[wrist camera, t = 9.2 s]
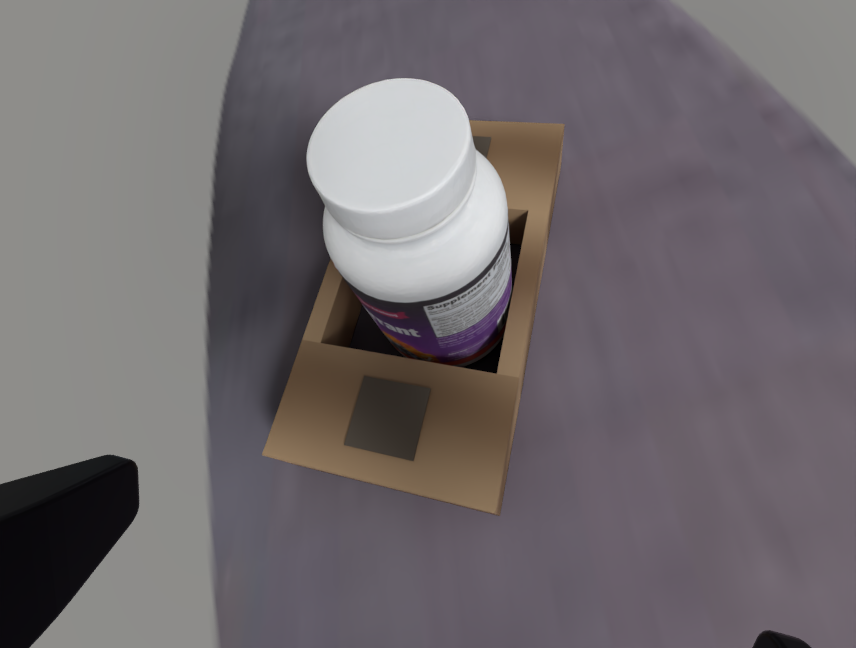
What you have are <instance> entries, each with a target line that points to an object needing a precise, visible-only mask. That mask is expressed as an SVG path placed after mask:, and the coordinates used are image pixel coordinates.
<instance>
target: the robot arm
mask: <svg viewBox="0 0 856 648" xmlns="http://www.w3.org/2000/svg"><path fill="white" fill-rule="evenodd" d="M138 508H139V484H138V467H137V465H136V463H135V462H134V461H132V460H130V459H126V458H123V457H119V456H115V455H104V456H101V457H97V458H93V459H89V460H86V461H82V462H79V463H75V464H71V465H68V466H64V467H61V468H57V469H54V470H50V471H46V472H43V473H39V474H35V475H32V476H28V477H25V478H21V479H18V480H14V481H11V482H7V483H3V484H0V648H29V647H30V646H31V645H32V644H33V643H34V642H35V641H36V640H37V639H38V638H39V637H40V636H41V635H42V633H43V632H44V631H45V630H46V629H47V628H48V627H49V626H50V624H51V623H52V622H53V621H54V620H55V619H56V618H57V617H58V615H59V614H60V613H61V612H62V610H63V609H64V608H65V607H66V606H67V604H68V603H69V602H70V601H71V600H72V598H73V597H74V596H75V595H76V593H77V592H78V591H79V589H80V588H81V587H82V586H83V584H84V583H85V582H86V581H87V579H88V578H89V577H90V575H91V574H92V572H94V570H95V569H96V567H97V566H98V565H99V564H100V563H101V561H102V560H103V559H104V557H105V556H106V555H107V554H108V552H109V551H110V550H111V549H112V547H113V546H114V545H115V544H116V542H117V541H118V540H119V538H120V537H121V536H122V534H123V533H124V532H125V531H126V530H127V528H128V527H129V526H130V524H131V523H132V522H133V520H134V518H135V516H136V514H137V512H138ZM753 648H811V647H810V646H809V645H808V644H807V643H805V642H804V641H802V640H801V639H799V638H796V637H793V636H789V635H786V634H782V633H778V632H774V631H770V630H768V631H763V632H762V633H760V634H759V636H758V637H757V639H756V641H755V643H754V646H753Z"/></svg>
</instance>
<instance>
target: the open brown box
mask: <svg viewBox="0 0 856 648" xmlns="http://www.w3.org/2000/svg"><path fill="white" fill-rule="evenodd" d="M469 123H470V127H471V133H472V138H473V143H474V146H475V149H476V150H477V151H478V152H480V153H481V154H482V155H483V156H484V157H485V158H486V159H487V160H488V161H489V162H490V163H491V164H492V166H493V167H494V169H495V170H496V171H497V173H498V175H499V177H500V179H501V181H502V184H503V187H504V190H505V194H506V199H507V207H508V220H509V238H510V244H518V245H522V246H521V252H520V257H519V262H518V267H517V272H516V277H515V282H514V287H513V293H512V298H511V303H510V308H509V313H508V318H507V323H506V328H505V333H504V339H503V344H502V349H501V354H500V359H499V364H498V369H497V374H496V373H490V372H484V371H479V370H473V369H467V368H461V367H456V366H450V365H444V364H439V363H433V362H427V361H421V360H416V359H410V358H404V357H398V356H393V355H387V354H381V353H376V352H370V351H364V350H358V349H353V348H349V346H350V343H351V339H352V336H353V333H354V330H355V327H356V323H357V320H358V317H359V314H360V311H361V307H362V303H361V302H360V300H359V299H358V298H357V296H356V295H355V294H354V292H353V291H352V289H351V288H350V287H349V285H348V284H347V283H346V281H345V280H344V279H343V277H342V276H341V275H340V273H339V272H338V270H337V269H336V268H335V266H334V263H333V261H332V259H331V258H330V261H329V264H328V267H327V270H326V273H325V275H324V278H323V281H322V284H321V287H320V290H319V293H318V296H317V298H316V301H315V304H314V307H313V310H312V313H311V316H310V319H309V321H308V324H307V327H306V330H305V333H304V336H303V339H302V342H301V344H300V347H299V350H298V353H297V356H296V359H295V362H294V364H293V367H292V370H291V373H290V376H289V379H288V382H287V385H286V387H285V390H284V393H283V396H282V399H281V402H280V405H279V408H278V410H277V413H276V416H275V419H274V422H273V425H272V428H271V430H270V433H269V436H268V439H267V442H266V445H265V448H264V451H263V453H262V455H264V456H267V457H271V458H274V459H278V460H281V461H285V462H288V463H291V464H295V465H299V466H303V467H307V468H311V469H315V470H319V471H323V472H327V473H331V474H335V475H339V476H343V477H347V478H351V479H355V480H359V481H363V482H367V483H371V484H375V485H379V486H383V487H387V488H391V489H395V490H399V491H403V492H407V493H411V494H415V495H419V496H422V497H426V498H430V499H434V500H438V501H442V502H446V503H450V504H454V505H458V506H462V507H466V508H470V509H474V510H478V511H482V512H486V513H490V514H494V515H498V516H500V512H501V506H502V500H503V494H504V489H505V483H506V477H507V471H508V466H509V460H510V454H511V449H512V443H513V437H514V431H515V426H516V420H517V414H518V408H519V403H520V397H521V391H522V386H523V380H524V374H525V368H526V363H527V357H528V351H529V345H530V340H531V334H532V328H533V323H534V317H535V311H536V305H537V300H538V294H539V288H540V282H541V277H542V271H543V265H544V260H545V254H546V248H547V242H548V237H549V231H550V225H551V219H552V214H553V208H554V202H555V197H556V191H557V185H558V179H559V174H560V168H561V158H562V147H563V136H564V124H550V123H524V122H498V121H472V120H469Z"/></svg>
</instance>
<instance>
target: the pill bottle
mask: <svg viewBox="0 0 856 648" xmlns="http://www.w3.org/2000/svg"><path fill="white" fill-rule="evenodd" d="M306 161H307V169H308V174H309V176H310V179H311V181H312V184H313V185H314V187H315V189H316V190H317V192H318V194H319V195H320V197H321V199H322V201H323V203H324V204H325V209H324V216H323V234H324V241H325V244H326V248H327V251H328V253H329V255H330V258H331V259H332V261H333V263H334V266H335V268H336V269H337V270H338V272H339V273H340V275H341V276H342V277H343V279H344V280H345V281H346V283H347V284H348V285H349V287H350V288H351V289H352V291H353V292H354V294H355V295H356V296H357V298H358V299H359V300H360V302H361V303H362V305H363V306H364V307H365V309H366V310H367V312H368V313H369V314H370V316H371V317H372V318H373V320H374V321H375V323H376V324H377V325H378V327H379V328H380V329H381V331H382V332H383V333H384V335H385V336H386V338H387V339H388V340H389V341H390V343H391V344H392V345H393V346H394V347H395V348H396V349H397V350H398V351H399V352H400V353H401V354H402V355H403V356H405V357H406V358H410V359H416V360H421V361H427V362H433V363H439V364H444V365H450V366H456V367H464V366H467V365H470V364H472V363H474V362H476V361H478V360H480V359H481V358H483V357H484V356H486V355H487V354H488V353H490V352H491V351H492V350H493V349H494V348H495V347H496V346H497V344H498V343H499V342H500V341H501V339H502V338H503V336H504V333H505V328H506V323H507V318H508V313H509V308H510V303H511V298H512V272H511V253H510V238H509V220H508V207H507V199H506V194H505V190H504V187H503V184H502V181H501V179H500V177H499V175H498V173H497V171H496V170H495V169H494V167H493V166H492V164H491V163H490V162H489V161H488V160H487V159H486V158H485V157H484V156H483V155H482V154H481V153H480V152H478V151H477V150H476V149H475V146H474V143H473V138H472V133H471V127H470V123H469V119H468V116H467V114H466V111H465V109H464V108H463V106H462V105H461V103H460V102H459V101H458V99H457V98H456V97H455V96H454V95H453V94H451V93H450V92H449V91H447V90H446V89H444V88H442V87H441V86H439V85H436V84H434V83H431V82H428V81H424V80H419V79H410V78H400V79H388V80H384V81H380V82H376V83H372V84H369V85H366V86H364V87H362V88H360V89H358V90H355V91H354V92H352V93H350V94H349V95H347V96H345V97H344V98H342V99H341V100H339V101H338V102H337V103H336V104H335V105H333V106H332V107H331V108H330V109H329V110H328V111H327V112H326V113H325V115H324V116H323V117H322V118H321V120H320V121H319V123H318V124H317V126H316V127H315V129H314V131H313V133H312V136H311V138H310V141H309V144H308V149H307V159H306Z"/></svg>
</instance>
